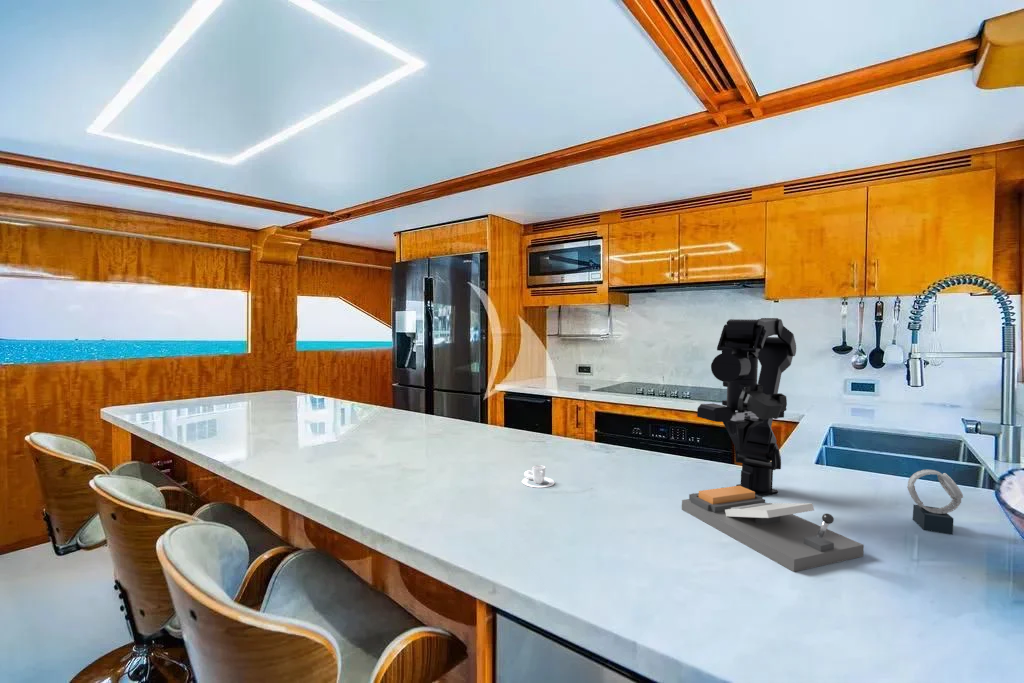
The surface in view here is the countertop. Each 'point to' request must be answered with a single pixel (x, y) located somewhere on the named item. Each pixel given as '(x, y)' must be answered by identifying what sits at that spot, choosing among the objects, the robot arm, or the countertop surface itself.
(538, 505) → the countertop surface
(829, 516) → the toggle lever
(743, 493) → the push button
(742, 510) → the rocker switch
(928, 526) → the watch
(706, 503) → the panel
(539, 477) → the teacup and saucer
